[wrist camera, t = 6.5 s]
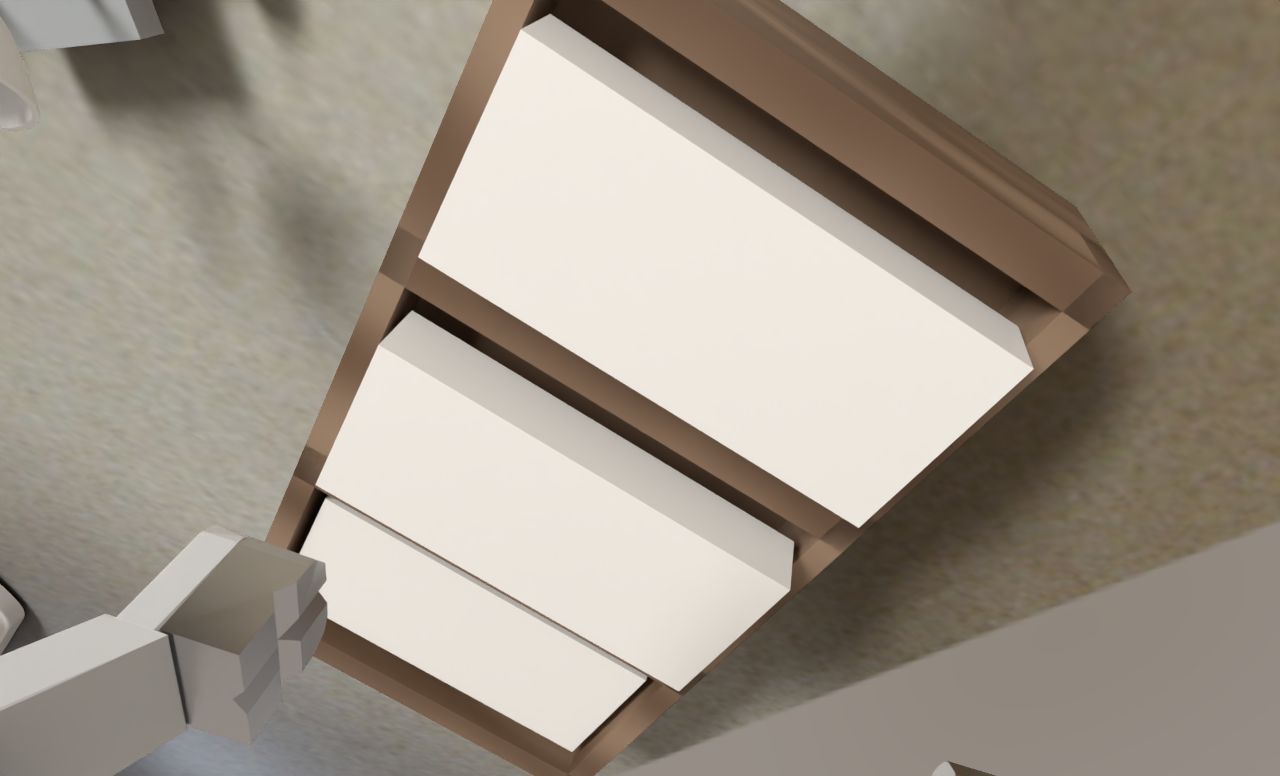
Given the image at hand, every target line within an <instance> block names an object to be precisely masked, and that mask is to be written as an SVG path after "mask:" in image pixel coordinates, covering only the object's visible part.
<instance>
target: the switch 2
mask: <svg viewBox="0 0 1280 776" xmlns="http://www.w3.org/2000/svg"><path fill="white" fill-rule="evenodd" d="M316 486H318V487H320V488H322V489H323V490H325V491H327V492H329V493H330V494H332V495H334V496H336V497H337V498H339V499H341V500H343V501H344V502H346V503H348V504H350V505H352V506H353V507H355V508H357V509H359V510H360V511H362V512H364V513H366V514H367V515H369V516H371V517H373V518H374V519H376V520H378V521H380V522H381V523H383V524H385V525H387V526H388V527H390V528H392V529H394V530H396V531H397V532H399V533H401V534H403V535H404V536H406V537H408V538H410V539H411V540H413V541H415V542H417V543H418V544H420V545H422V546H424V547H425V548H427V549H429V550H431V551H433V552H434V553H436V554H438V555H440V556H441V557H443V558H445V559H447V560H448V561H450V562H452V563H454V564H455V565H457V566H459V567H461V568H462V569H464V570H466V571H468V572H469V573H471V574H473V575H475V576H477V577H478V578H480V579H482V580H484V581H485V582H487V583H489V584H491V585H492V586H494V587H496V588H498V589H499V590H501V591H503V592H505V593H506V594H508V595H510V596H512V597H513V598H515V599H517V600H519V601H521V602H522V603H524V604H526V605H528V606H529V607H531V608H533V609H535V610H536V611H538V612H540V613H542V614H543V615H545V616H547V617H549V618H550V619H552V620H554V621H556V622H557V623H559V624H561V625H563V626H565V627H566V628H568V629H570V630H572V631H573V632H575V633H577V634H579V635H580V636H582V637H584V638H586V639H587V640H589V641H591V642H593V643H594V644H596V645H598V646H600V647H601V648H603V649H605V650H607V651H609V652H610V653H612V654H614V655H616V656H617V657H619V658H621V659H623V660H624V661H626V662H628V663H630V664H631V665H633V666H635V667H637V668H638V669H640V670H642V671H644V672H646V673H647V674H649V675H651V676H653V677H654V678H656V679H658V680H660V681H661V682H663V683H665V684H667V685H668V686H670V687H672V688H674V689H675V690H677V691H680V690H681V689H682V688H683V687H684V686H685V685H687V684H688V683H689V682H690V681H691V680H692V679H693V678H694V677H695V676H697V675H698V674H699V673H700V672H701V671H702V670H703V669H704V668H705V667H706V666H708V665H709V664H710V663H711V662H712V661H713V660H714V659H715V658H716V657H717V656H719V655H720V654H721V653H722V652H723V651H724V650H725V649H726V648H727V647H728V646H730V645H731V644H732V643H733V642H734V641H735V640H736V639H737V638H738V637H739V636H741V635H742V634H743V633H744V632H745V631H746V630H747V629H748V628H749V627H750V626H752V625H753V624H754V623H755V622H756V621H757V620H758V619H759V618H760V617H761V616H763V615H764V614H765V613H766V612H767V611H768V610H769V609H770V608H771V607H772V606H774V605H775V604H776V603H777V602H778V601H779V600H780V599H781V598H782V597H783V596H785V595H786V594H787V593H788V592H789V591H790V587H791V574H792V562H793V550H794V541H792V540H791V539H789V538H787V537H786V536H784V535H782V534H781V533H779V532H777V531H776V530H774V529H772V528H771V527H769V526H768V525H766V524H764V523H763V522H761V521H759V520H758V519H756V518H754V517H753V516H751V515H749V514H748V513H746V512H744V511H743V510H741V509H739V508H738V507H736V506H734V505H733V504H731V503H730V502H728V501H726V500H725V499H723V498H721V497H720V496H718V495H716V494H715V493H713V492H711V491H710V490H708V489H706V488H705V487H703V486H701V485H700V484H698V483H696V482H695V481H693V480H692V479H690V478H688V477H687V476H685V475H683V474H682V473H680V472H678V471H677V470H675V469H673V468H672V467H670V466H668V465H667V464H665V463H663V462H662V461H660V460H658V459H657V458H655V457H654V456H652V455H650V454H649V453H647V452H645V451H644V450H642V449H640V448H639V447H637V446H635V445H634V444H632V443H630V442H629V441H627V440H625V439H624V438H622V437H620V436H619V435H617V434H616V433H614V432H612V431H611V430H609V429H607V428H606V427H604V426H602V425H601V424H599V423H597V422H596V421H594V420H592V419H591V418H589V417H587V416H586V415H584V414H582V413H581V412H579V411H578V410H576V409H574V408H573V407H571V406H569V405H568V404H566V403H564V402H563V401H561V400H559V399H558V398H556V397H554V396H553V395H551V394H549V393H548V392H546V391H544V390H543V389H541V388H540V387H538V386H536V385H535V384H533V383H531V382H530V381H528V380H526V379H525V378H523V377H521V376H520V375H518V374H516V373H515V372H513V371H511V370H510V369H508V368H506V367H505V366H503V365H502V364H500V363H498V362H497V361H495V360H493V359H492V358H490V357H488V356H487V355H485V354H483V353H482V352H480V351H478V350H477V349H475V348H473V347H472V346H470V345H468V344H467V343H465V342H464V341H462V340H460V339H459V338H457V337H455V336H454V335H452V334H450V333H449V332H447V331H445V330H444V329H442V328H440V327H439V326H437V325H435V324H434V323H432V322H430V321H429V320H427V319H425V318H424V317H422V316H421V315H419V314H417V313H416V312H414V311H411V312H410V313H409V314H408V315H407V316H406V317H405V318H404V319H403V320H402V321H401V322H400V323H399V324H398V325H397V326H396V327H395V328H394V329H393V330H392V331H391V332H390V333H389V334H388V336H387V337H386V338H385V339H384V340H383V341H382V342H381V343H380V344H379V345H378V347H377V349H376V351H375V354H374V356H373V358H372V360H371V362H370V365H369V367H368V369H367V371H366V374H365V376H364V378H363V380H362V382H361V385H360V387H359V389H358V391H357V394H356V396H355V398H354V400H353V402H352V405H351V407H350V409H349V411H348V414H347V416H346V418H345V420H344V422H343V425H342V427H341V429H340V431H339V433H338V436H337V438H336V440H335V442H334V445H333V447H332V449H331V451H330V453H329V456H328V458H327V460H326V462H325V465H324V467H323V469H322V471H321V473H320V476H319V478H318V480H317V482H316Z"/></svg>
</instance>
